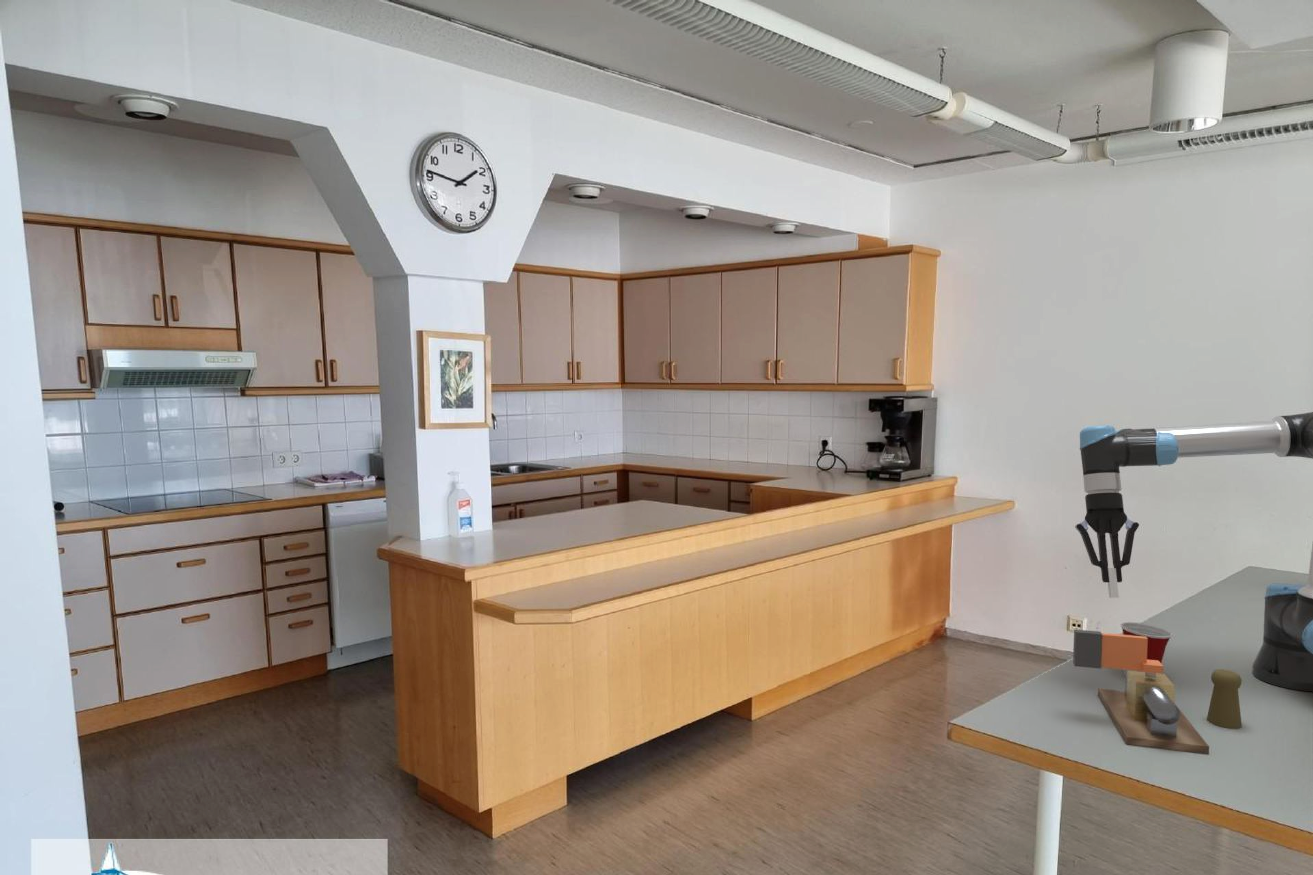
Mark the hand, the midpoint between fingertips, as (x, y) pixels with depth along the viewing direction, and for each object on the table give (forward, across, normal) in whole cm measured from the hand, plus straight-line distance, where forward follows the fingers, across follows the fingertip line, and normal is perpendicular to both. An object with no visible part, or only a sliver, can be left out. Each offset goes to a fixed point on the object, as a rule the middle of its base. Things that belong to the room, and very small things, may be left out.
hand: (1113, 597), depth 183 cm
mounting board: (+26, -3, +8) cm, 27 cm away
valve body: (+24, -3, +8) cm, 26 cm away
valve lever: (+15, +3, +11) cm, 19 cm away
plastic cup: (+20, -8, -21) cm, 30 cm away
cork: (+26, -18, +3) cm, 31 cm away
